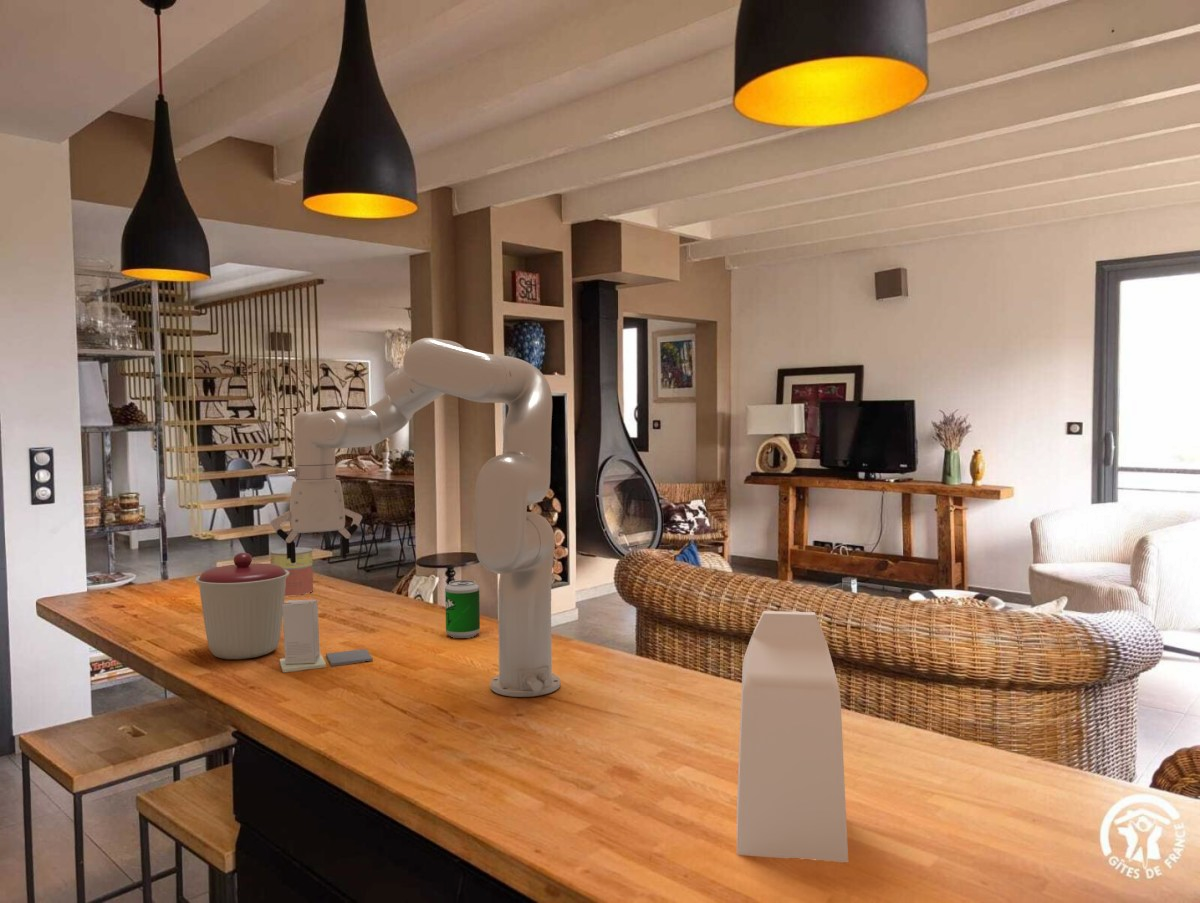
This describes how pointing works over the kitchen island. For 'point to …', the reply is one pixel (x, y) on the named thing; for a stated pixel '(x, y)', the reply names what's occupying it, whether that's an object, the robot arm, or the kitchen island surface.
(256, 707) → the kitchen island surface
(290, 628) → the skincare box
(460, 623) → the soda can
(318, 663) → the sage pad
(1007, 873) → the kitchen island surface
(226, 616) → the canister
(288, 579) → the canned food
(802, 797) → the milk
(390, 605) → the kitchen island surface
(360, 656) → the slate pad
